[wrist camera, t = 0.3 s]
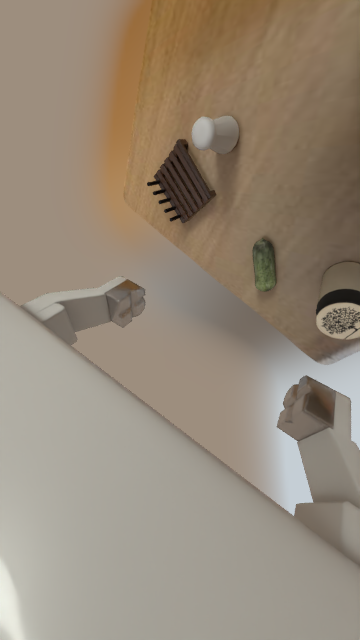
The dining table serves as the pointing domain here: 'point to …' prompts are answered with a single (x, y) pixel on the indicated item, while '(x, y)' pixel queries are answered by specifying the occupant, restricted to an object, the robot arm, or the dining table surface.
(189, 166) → the drying rack
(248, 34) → the dining table surface
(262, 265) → the vegetable
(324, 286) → the travel mug
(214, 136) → the salt shaker
